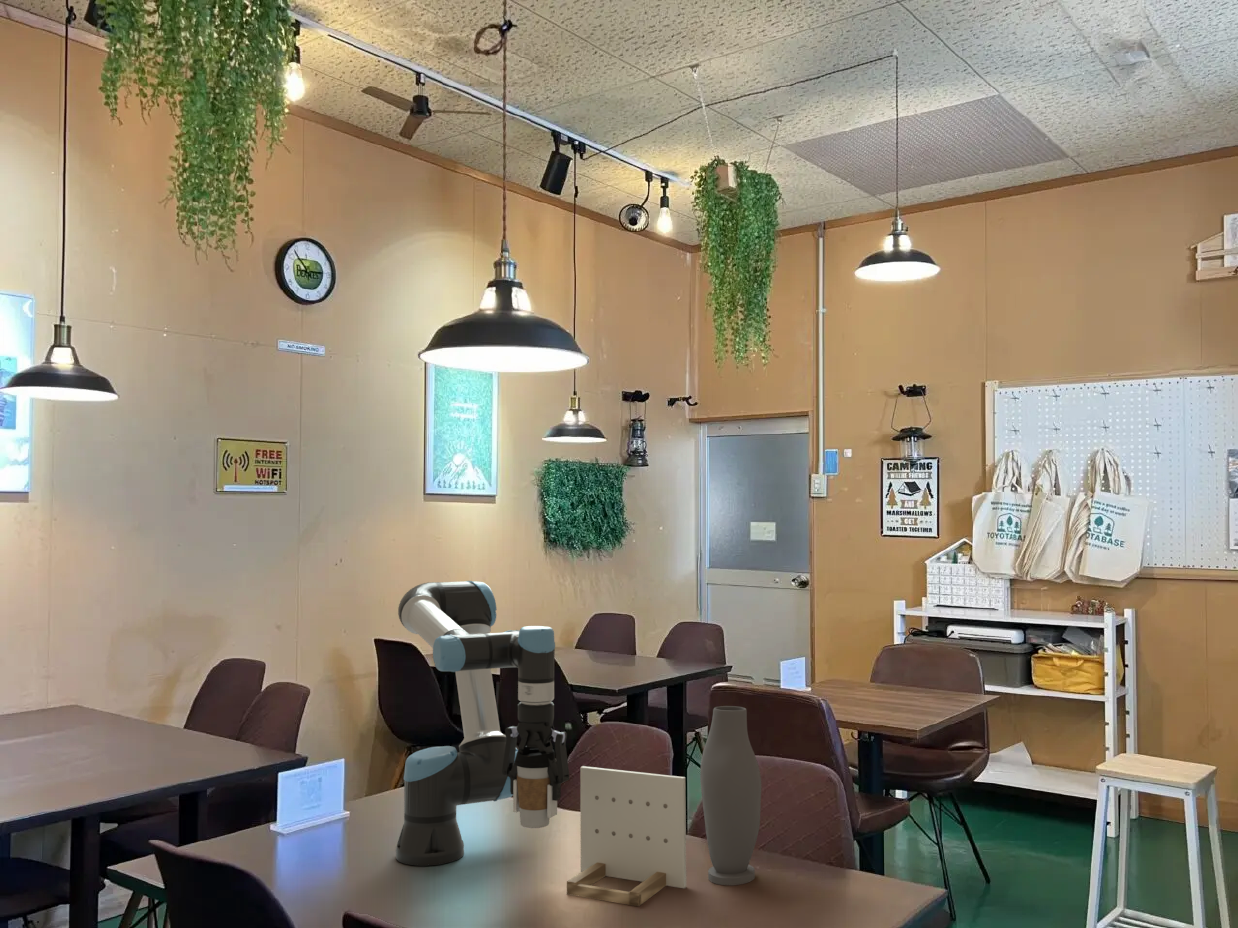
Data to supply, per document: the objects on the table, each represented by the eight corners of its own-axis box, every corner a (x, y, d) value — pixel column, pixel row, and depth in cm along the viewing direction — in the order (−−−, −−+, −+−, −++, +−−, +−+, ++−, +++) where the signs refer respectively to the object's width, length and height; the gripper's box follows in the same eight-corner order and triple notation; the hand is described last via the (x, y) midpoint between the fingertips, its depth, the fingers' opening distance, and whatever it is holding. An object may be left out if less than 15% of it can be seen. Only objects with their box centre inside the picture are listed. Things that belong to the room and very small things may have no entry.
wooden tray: (566, 893, 206) (566, 881, 206) (597, 874, 217) (597, 862, 217) (638, 906, 198) (638, 892, 199) (666, 885, 210) (666, 872, 210)
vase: (744, 891, 206) (743, 714, 210) (688, 880, 213) (687, 709, 216) (771, 874, 217) (769, 706, 221) (716, 864, 224) (715, 702, 228)
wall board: (580, 871, 219) (580, 767, 221) (583, 869, 220) (583, 766, 222) (684, 888, 208) (682, 778, 210) (686, 886, 210) (685, 777, 211)
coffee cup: (549, 831, 207) (549, 756, 207) (509, 828, 208) (509, 753, 209) (559, 819, 215) (560, 746, 216) (521, 816, 217) (521, 744, 217)
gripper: (484, 700, 214) (483, 811, 213) (570, 708, 205) (569, 824, 204) (504, 694, 221) (503, 802, 220) (587, 702, 212) (586, 814, 211)
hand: (535, 812), depth 212 cm, fingers closed on coffee cup, 7 cm apart
